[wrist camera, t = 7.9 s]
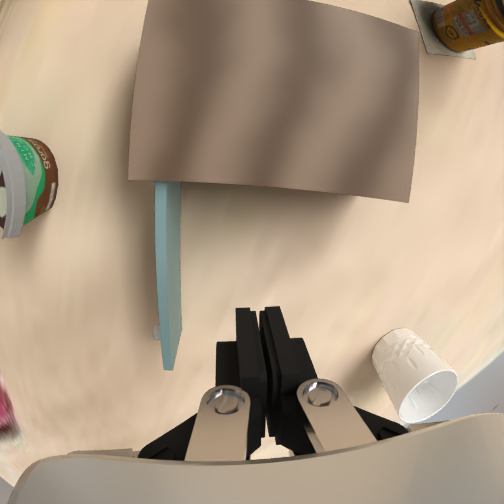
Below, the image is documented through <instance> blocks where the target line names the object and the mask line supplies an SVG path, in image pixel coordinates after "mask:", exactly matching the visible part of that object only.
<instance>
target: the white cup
mask: <svg viewBox="0 0 504 504" xmlns="http://www.w3.org/2000/svg"><path fill="white" fill-rule="evenodd" d="M372 361H373V365H374V367H375V369H376V371H377V373H378V375H379V378H380V380H381V382H382V384H383V386H384V388H385V391H386V392H387V394H388V396H389V398H390V400H391V402H392V404H393V406H394V408H395V410H396V412H397V414H398V416H399V418H400V420H402V421H403V422H405V423H416V422H420V421H423V420H425V419H427V418H429V417H431V416H432V415H434V414H435V413H437V412H438V411H439V410H441V409H442V408H443V407H444V406H445V405H446V404H447V403H448V401H449V400H450V399H451V398H452V396H453V395H454V393H455V391H456V389H457V386H458V375H457V373H456V372H455V371H454V370H453V369H452V368H451V367H450V366H449V365H448V364H447V363H446V362H445V361H444V360H443V359H442V358H441V357H440V356H439V355H438V354H437V353H436V352H435V351H434V350H433V349H432V348H431V347H430V346H429V345H428V344H426V343H425V342H424V341H422V340H421V339H420V338H419V337H418V336H417V335H416V334H415V333H414V332H413V331H412V330H409V329H405V328H400V329H396V330H393V331H391V332H389V333H388V334H386V335H385V336H383V337H382V338H381V340H380V341H379V342H378V343H377V344H376V346H375V348H374V351H373V354H372Z"/></svg>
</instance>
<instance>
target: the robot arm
mask: <svg viewBox="0 0 504 504" xmlns="http://www.w3.org/2000/svg"><path fill="white" fill-rule="evenodd" d="M266 420H267V426H268V433H269V437H275V441H276V445H282V446H284V447H286V448H288V449H289V455H290V457H282V458H271V459H258V460H251V454H252V453H253V452H254V451H255V450H257V449H258V448H259V447H260V446H261V438H264V437H265V422H266ZM7 504H504V414H501V413H481V414H475V415H469V416H465V417H461V418H457V419H453V420H448V421H440V422H432V423H422V424H411V425H409V426H408V428H405V427H403V426H402V425H400V424H398V423H396V422H393V421H390V420H388V419H385V418H383V417H380V416H377V415H375V414H372V413H370V412H367V411H365V410H362V409H360V408H357V407H355V406H353V405H352V403H351V402H350V400H349V399H348V398H347V396H346V395H345V393H344V392H343V390H342V389H341V388H340V387H339V386H338V385H337V384H336V383H334V382H332V381H330V380H326V379H318V377H317V374H316V372H315V369H314V366H313V364H312V361H311V359H310V356H309V353H308V351H307V348H306V345H305V343H304V340H303V338H290V337H289V334H288V331H287V328H286V324H285V321H284V318H283V315H282V312H281V309H280V306H275V307H265V311H260V314H259V327H258V322H257V316H256V311H250V308H236V341H227V342H217V344H216V387H213V388H211V389H209V390H208V391H207V392H206V393H205V394H204V395H203V397H202V399H201V403H200V407H199V410H198V413H196V414H195V415H193V416H192V417H190V418H189V419H187V420H186V421H184V422H183V423H181V424H180V425H178V426H177V427H175V428H173V429H172V430H170V431H169V432H167V433H165V434H164V435H162V436H161V437H159V438H157V439H156V440H154V441H152V442H151V443H149V444H148V445H146V446H145V447H144V448H142V450H141V451H133V450H132V448H131V449H117V450H94V451H74V452H70V453H68V454H67V455H60V456H52V457H48V458H44V459H41V460H38V461H36V462H34V463H33V464H31V465H30V466H29V467H28V468H27V469H26V470H25V471H24V472H23V474H22V475H21V477H20V478H19V480H18V482H17V483H16V485H15V487H14V489H13V491H12V493H11V495H10V497H9V500H8V502H7Z"/></svg>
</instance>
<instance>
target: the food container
mask: <svg viewBox="0 0 504 504" xmlns="http://www.w3.org/2000/svg"><path fill="white" fill-rule="evenodd" d="M57 188H58V169H57V165H56V162H55V158H54V156H53V154H52V152H51V151H50V149H49V148H48V147H47V146H46V145H45V144H44V143H43V142H41V141H39V140H37V139H32V138H25V137H17V136H8V135H5V134H4V133H3V132H2V131H0V226H1V227H2V228H3V229H4V231H3V234H2V239H3V238H5V237H7V238H12V237H17V236H19V235H20V232H21V229H22V226H23V225H25V224H26V223H28V222H29V221H31V220H32V219H34V218H35V217H37V216H39V215H40V214H42V213H43V212H45V211H47V210H48V209H50V208H52V205H53V203H54V201H55V199H56V194H57Z"/></svg>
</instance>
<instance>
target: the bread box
mask: <svg viewBox="0 0 504 504" xmlns="http://www.w3.org/2000/svg"><path fill="white" fill-rule="evenodd" d="M418 99H419V44H418V32H416V31H414V30H411V29H408V28H406V27H403V26H400V25H398V24H395V23H392V22H389V21H386V20H383V19H380V18H377V17H373V16H370V15H367V14H363V13H360V12H356V11H352V10H349V9H345V8H341V7H337V6H332V5H328V4H323V3H319V2H314V1H308V0H149V1H148V6H147V10H146V15H145V21H144V26H143V31H142V37H141V43H140V49H139V56H138V63H137V70H136V78H135V86H134V95H133V105H132V116H131V128H130V144H129V164H128V180H153V181H184V182H206V183H224V184H240V185H254V186H267V187H279V188H290V189H301V190H311V191H320V192H329V193H338V194H346V195H355V196H362V197H370V198H378V199H385V200H392V201H398V202H405V203H409V197H410V190H411V183H412V175H413V166H414V157H415V147H416V135H417V120H418Z"/></svg>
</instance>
